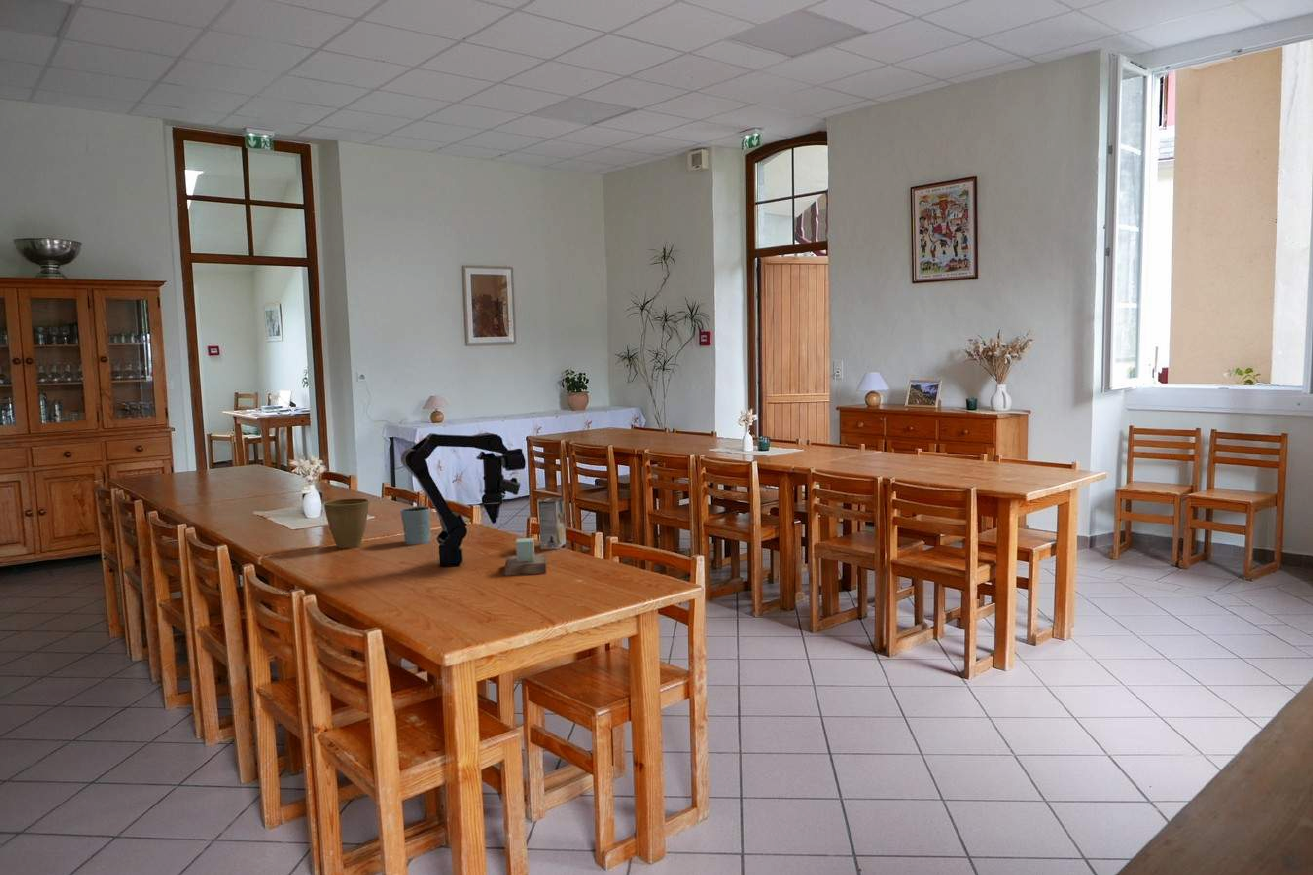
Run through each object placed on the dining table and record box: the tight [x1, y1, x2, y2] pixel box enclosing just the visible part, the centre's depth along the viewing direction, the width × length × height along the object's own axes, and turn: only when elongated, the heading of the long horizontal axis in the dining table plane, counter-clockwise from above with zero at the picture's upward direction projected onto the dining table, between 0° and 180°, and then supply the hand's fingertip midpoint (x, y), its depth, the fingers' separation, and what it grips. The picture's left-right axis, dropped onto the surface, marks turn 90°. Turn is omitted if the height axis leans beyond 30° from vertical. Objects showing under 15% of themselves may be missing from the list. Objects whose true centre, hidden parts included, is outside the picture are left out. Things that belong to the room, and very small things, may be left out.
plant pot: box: [323, 497, 370, 549], centre depth 305 cm, size 15×15×16 cm
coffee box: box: [537, 496, 567, 550], centre depth 295 cm, size 9×6×16 cm
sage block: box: [515, 537, 535, 562], centre depth 264 cm, size 5×5×6 cm
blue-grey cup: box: [400, 506, 431, 546], centre depth 309 cm, size 10×10×12 cm
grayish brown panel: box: [504, 553, 548, 576], centre depth 265 cm, size 12×12×3 cm
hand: (495, 520), depth 280 cm, fingers open, 9 cm apart
